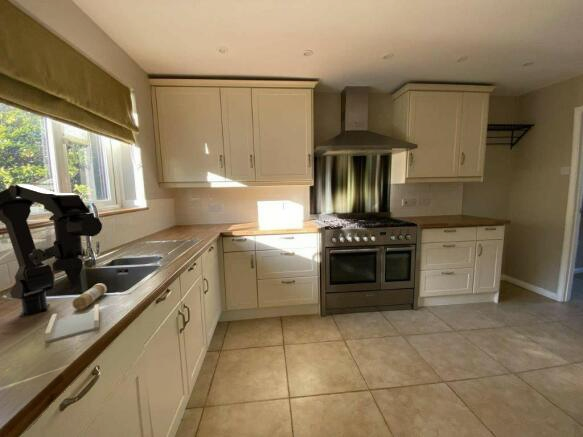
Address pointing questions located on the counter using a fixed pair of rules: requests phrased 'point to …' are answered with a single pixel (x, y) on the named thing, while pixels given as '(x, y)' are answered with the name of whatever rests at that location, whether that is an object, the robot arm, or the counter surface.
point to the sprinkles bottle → (89, 296)
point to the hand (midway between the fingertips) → (73, 285)
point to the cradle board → (72, 325)
